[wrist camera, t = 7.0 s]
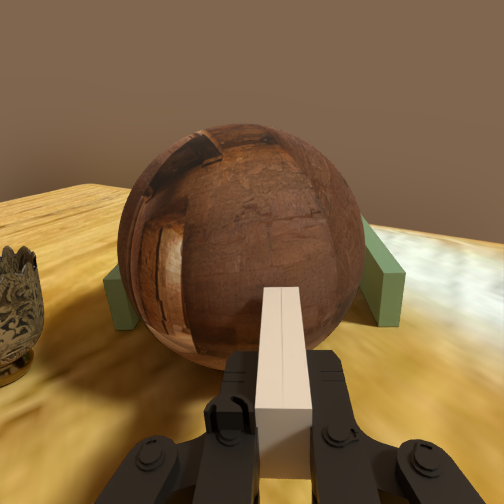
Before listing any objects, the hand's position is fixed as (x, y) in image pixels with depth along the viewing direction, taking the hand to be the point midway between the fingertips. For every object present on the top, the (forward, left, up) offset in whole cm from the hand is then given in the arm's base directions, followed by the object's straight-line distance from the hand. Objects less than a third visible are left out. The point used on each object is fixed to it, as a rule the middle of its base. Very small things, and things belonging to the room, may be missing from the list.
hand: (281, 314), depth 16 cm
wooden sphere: (-5, +6, -8) cm, 11 cm away
